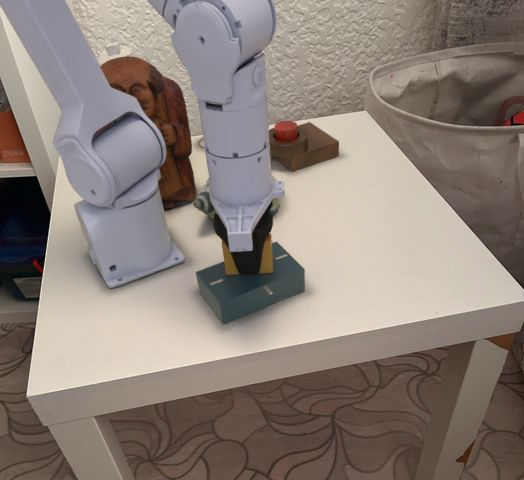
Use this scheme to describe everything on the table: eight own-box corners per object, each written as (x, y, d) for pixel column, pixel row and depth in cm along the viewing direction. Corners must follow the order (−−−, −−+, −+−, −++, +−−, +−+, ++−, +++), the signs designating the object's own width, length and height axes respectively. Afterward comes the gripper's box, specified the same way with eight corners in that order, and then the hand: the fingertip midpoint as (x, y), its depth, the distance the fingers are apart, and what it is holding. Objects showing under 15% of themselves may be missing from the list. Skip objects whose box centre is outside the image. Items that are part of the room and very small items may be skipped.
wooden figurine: (117, 222, 71) (73, 78, 58) (111, 198, 76) (69, 59, 63) (204, 202, 73) (181, 59, 60) (193, 180, 78) (170, 41, 65)
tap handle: (226, 275, 58) (221, 241, 55) (226, 267, 59) (222, 233, 56) (273, 273, 57) (271, 239, 54) (273, 264, 58) (271, 231, 55)
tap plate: (229, 334, 56) (226, 311, 54) (193, 285, 62) (189, 262, 59) (312, 298, 59) (312, 275, 56) (271, 255, 65) (269, 233, 62)
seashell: (287, 223, 72) (197, 240, 70) (273, 176, 74) (185, 192, 72) (293, 194, 66) (194, 211, 64) (277, 144, 68) (182, 160, 66)
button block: (279, 176, 77) (278, 149, 74) (252, 153, 82) (250, 127, 79) (338, 156, 80) (340, 129, 77) (309, 135, 85) (309, 109, 82)
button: (282, 145, 76) (281, 132, 74) (270, 136, 78) (270, 124, 76) (301, 138, 77) (301, 126, 75) (290, 130, 79) (289, 118, 77)
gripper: (284, 183, 43) (289, 311, 52) (280, 105, 53) (285, 225, 62) (195, 188, 43) (216, 314, 53) (207, 109, 53) (224, 228, 63)
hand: (249, 266), depth 58 cm, fingers closed on tap handle
